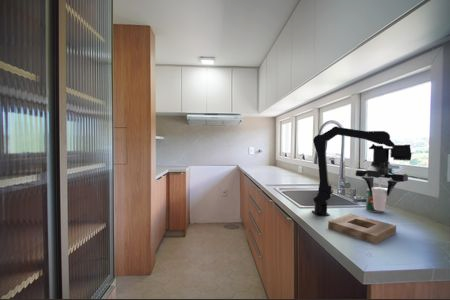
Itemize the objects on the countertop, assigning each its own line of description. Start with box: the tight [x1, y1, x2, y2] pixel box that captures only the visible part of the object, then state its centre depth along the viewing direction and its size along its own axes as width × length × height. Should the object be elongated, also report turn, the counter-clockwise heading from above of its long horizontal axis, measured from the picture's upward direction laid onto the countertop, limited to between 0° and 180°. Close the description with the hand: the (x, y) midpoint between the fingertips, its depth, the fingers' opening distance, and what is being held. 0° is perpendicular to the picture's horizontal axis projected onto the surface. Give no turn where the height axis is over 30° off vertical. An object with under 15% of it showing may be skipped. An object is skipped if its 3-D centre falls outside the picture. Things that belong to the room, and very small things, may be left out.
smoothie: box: [371, 178, 388, 211], centre depth 102 cm, size 6×6×14 cm
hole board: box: [327, 213, 397, 245], centre depth 93 cm, size 18×18×3 cm
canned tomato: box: [365, 187, 385, 213], centre depth 121 cm, size 8×8×11 cm
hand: (379, 194), depth 102 cm, fingers closed on smoothie, 6 cm apart
